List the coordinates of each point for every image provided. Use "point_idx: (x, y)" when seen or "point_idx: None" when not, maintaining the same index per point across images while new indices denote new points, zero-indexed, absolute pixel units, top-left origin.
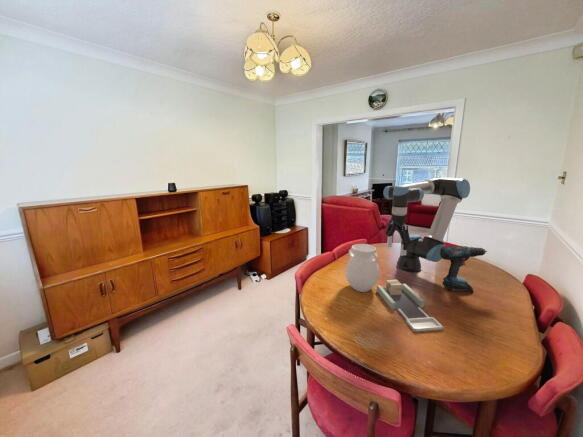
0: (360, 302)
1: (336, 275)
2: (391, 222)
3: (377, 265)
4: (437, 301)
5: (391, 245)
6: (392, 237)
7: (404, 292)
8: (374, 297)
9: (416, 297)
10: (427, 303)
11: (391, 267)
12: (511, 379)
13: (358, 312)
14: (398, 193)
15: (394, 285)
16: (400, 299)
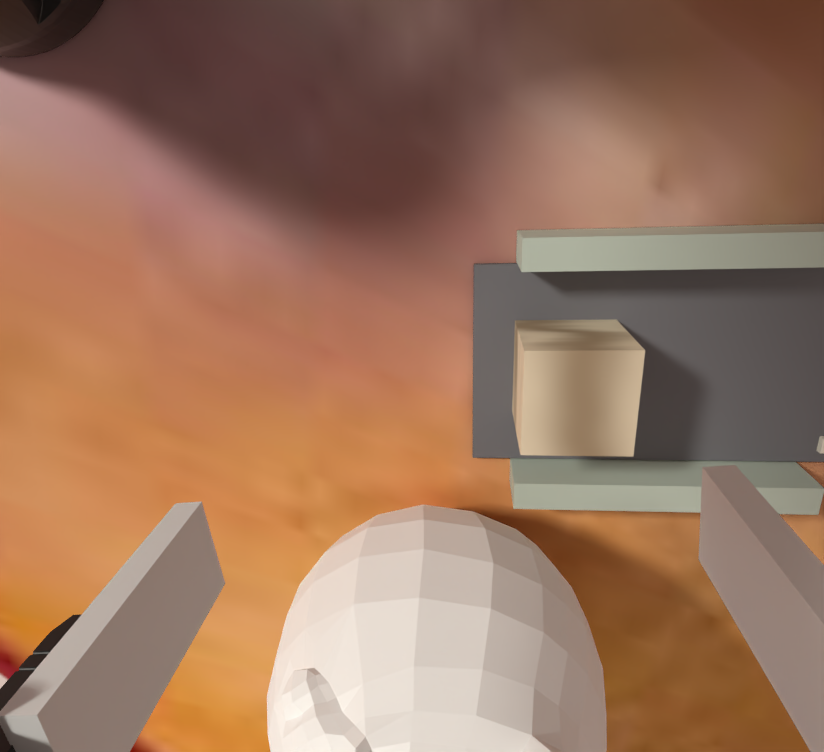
0: (643, 636)
1: (231, 664)
2: None
3: (516, 660)
4: (802, 17)
5: (188, 531)
6: (62, 685)
7: (585, 272)
8: (600, 531)
9: (798, 267)
10: (802, 148)
11: (18, 133)
12: None
13: (752, 682)
14: None
15: (634, 426)
16: (688, 364)
